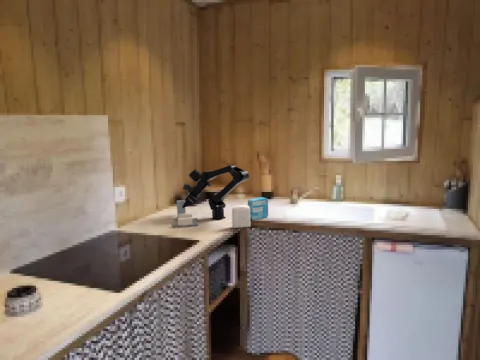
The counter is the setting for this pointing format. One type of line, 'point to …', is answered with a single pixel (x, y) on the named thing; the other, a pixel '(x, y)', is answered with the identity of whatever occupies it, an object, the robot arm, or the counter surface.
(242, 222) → the photo printer
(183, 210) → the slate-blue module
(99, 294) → the counter surface
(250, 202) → the data package
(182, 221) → the board
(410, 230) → the counter surface
